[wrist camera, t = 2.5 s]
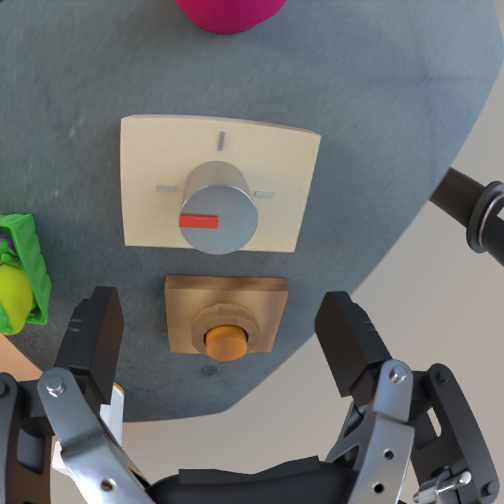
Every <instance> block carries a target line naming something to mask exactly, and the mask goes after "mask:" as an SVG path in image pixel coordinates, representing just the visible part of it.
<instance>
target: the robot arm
mask: <svg viewBox="0 0 504 504" xmlns="http://www.w3.org/2000/svg"><path fill="white" fill-rule="evenodd" d="M477 242H478V244H479V245H480V246H481V247H482V248H483V249H484V250H486V251H487V252H488V253H489V254H491V255H492V256H493V257H494V258H495V259H496V260H497V261H498V262H499V263H500V264H501V265H502V266H503V267H504V193H503V192H500V193H497V194H496V195H494V196H493V197H492V198H491V200H490V201H489V202H488V204H487V205H486V207H485V209H484V211H483V213H482V216H481V218H480V221H479V224H478V228H477ZM123 328H124V320H123V314H122V310H121V306H120V301H119V297H118V292H117V289H116V287H106V286H96V287H95V289H94V292H93V294H92V297H91V299H83V300H82V301H81V302H80V303H79V304H78V306H77V307H76V308H75V309H74V312H73V314H72V317H71V321H70V322H69V325H68V327H67V331H66V332H65V335H64V338H63V341H62V344H61V347H60V349H59V352H58V356H57V359H56V362H55V364H54V367H53V368H50V369H48V370H46V371H45V372H44V373H43V374H42V375H41V376H40V378H39V379H38V380H31V381H21V382H17V381H16V380H15V379H14V377H13V376H12V375H10V374H9V373H5V372H1V373H0V504H51V501H50V463H51V446H52V436H55V435H56V437H57V439H58V441H59V443H60V445H61V448H62V451H60V455H61V458H62V460H63V463H64V464H65V466H66V468H67V470H68V472H69V473H70V475H71V477H72V478H73V480H74V482H75V483H76V485H77V486H78V488H79V489H80V491H81V493H82V494H83V496H84V497H85V499H86V500H87V502H88V503H89V504H406V503H405V502H403V501H401V500H399V497H400V494H401V490H402V487H403V483H404V480H405V476H406V472H407V468H408V464H409V460H410V459H411V462H412V465H413V468H414V471H415V474H416V477H417V480H418V483H419V487H420V488H419V491H418V492H417V493H416V494H415V495H414V497H413V500H414V502H415V503H417V504H491V503H492V502H494V500H495V499H496V497H497V495H498V493H499V487H500V485H499V479H498V476H497V473H496V470H495V467H494V464H493V461H492V459H491V456H490V453H489V451H488V448H487V445H486V443H485V440H484V438H483V436H482V433H481V431H480V428H479V426H478V424H477V422H476V419H475V418H474V415H473V413H472V411H471V409H470V407H469V404H468V402H467V400H466V398H465V397H464V394H463V393H462V390H461V388H460V387H459V385H458V383H457V381H456V379H455V377H454V375H453V373H452V372H451V370H450V369H449V368H448V367H446V366H445V365H443V364H440V363H436V364H433V365H432V366H431V367H430V368H429V369H428V370H427V371H426V372H425V371H411V369H410V368H409V367H408V366H407V364H405V363H404V362H402V361H400V360H396V359H393V358H392V357H391V355H390V353H389V352H388V350H387V348H386V346H385V344H384V343H383V341H382V339H381V337H380V336H379V334H378V332H377V331H375V327H374V325H373V324H372V323H371V320H370V319H369V317H368V315H367V313H366V312H365V311H364V310H363V309H362V308H361V307H360V306H359V305H358V304H356V303H353V302H352V300H351V298H350V297H349V295H348V293H347V292H345V291H333V292H327V293H326V294H325V296H324V298H323V301H322V303H321V306H320V308H319V311H318V313H317V316H316V318H315V332H316V335H317V337H318V340H319V342H320V344H321V347H322V349H323V352H324V354H325V357H326V359H327V362H328V364H329V367H330V369H331V372H332V375H333V377H334V380H335V382H336V385H337V387H338V390H339V392H340V395H341V397H346V396H351V395H352V397H353V401H352V402H351V405H350V407H349V411H348V413H347V416H346V419H345V422H344V424H343V427H342V430H341V433H340V435H339V437H338V440H337V442H336V443H335V445H334V446H333V448H332V449H331V450H330V452H329V454H328V455H327V457H326V459H325V461H319V458H318V456H313V457H308V458H304V459H299V460H293V461H288V462H284V463H282V464H280V465H277V466H275V467H272V468H270V469H267V470H264V471H262V472H259V473H256V474H243V473H235V472H228V471H222V470H217V469H179V474H177V475H173V476H170V477H166V478H163V479H161V480H159V481H157V482H155V483H154V484H151V483H150V482H149V481H148V480H147V478H146V477H145V476H144V475H143V474H142V472H141V471H140V470H139V469H138V468H137V466H136V465H135V464H134V463H133V462H132V461H131V460H130V458H129V457H128V456H127V454H126V453H125V452H124V451H123V449H122V447H121V446H120V445H119V443H118V442H117V440H116V439H115V437H114V436H113V434H112V433H111V431H110V430H109V428H108V427H107V425H106V423H105V422H104V420H103V418H102V417H101V415H100V409H101V404H104V405H111V398H112V390H113V384H114V377H115V371H116V366H117V360H118V355H119V349H120V344H121V339H122V335H123ZM431 407H433V410H434V412H435V414H436V416H437V419H438V421H439V423H440V426H441V435H440V436H439V437H438V436H437V435H436V432H435V430H434V427H433V425H432V423H431V420H430V418H429V415H428V413H427V411H428V410H429V409H430V408H431Z"/></svg>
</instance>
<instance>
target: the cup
mask: <svg viewBox="0 0 504 504" xmlns="http://www.w3.org/2000/svg"><path fill="white" fill-rule="evenodd" d="M123 401H124V391H123V389H122V388H121V387H120V386H119V385H118V384H117V383H116V382H114V384H113V390H112V398H111V405H104V404H101V409H100V415H101V417H102V418H103V420H104V422H105V423H106V425H107V427H108V428H109V430H110V431H111V433H112V434H113V436H114V437H115V439H116V440H117V442H118V443H119V445H120V446H121V439H122V416H123ZM60 451H62V448H61V445H60V443H59V441H58V442H56V444H55V449H54V455H53V462H52V467H53V468H54V469H55V470H58V471H59V472H61V473H64V474H66V475H69V476H71V475H70V473H69V472H68V470H67V468H66V466H65V464H64V463H63V460H62V458H61V455H60Z"/></svg>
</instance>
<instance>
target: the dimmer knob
mask: <svg viewBox="0 0 504 504" xmlns="http://www.w3.org/2000/svg"><path fill="white" fill-rule="evenodd" d="M257 224H258V213H257V209H256V206H255V203H254V201H253V198H252V196H251V193H250V191H249V188H248V186H247V183H246V181H245V179H244V177H243V175H242V173H241V172H240V171H239V170H238V169H237V168H236V167H235V166H233V165H231V164H229V163H227V162H223V161H210V162H206V163H204V164H202V165H200V166H198V167H197V168H195V169H194V170H193V171H192V172H191V174H190V175H189V177H188V179H187V181H186V184H185V189H184V194H183V198H182V203H181V208H180V213H179V227H180V230H181V233H182V235H183V237H184V238H185V240H186V241H187V242H188V243H189V244H190V245H191V246H192V247H193V248H195V249H197V250H198V251H201V252H203V253H206V254H211V255H223V254H228V253H231V252H234V251H236V250H238V249H240V248H242V247H243V246H244V245H245V244H247V243H248V242H249V240H250V239H251V238H252V236H253V235H254V233H255V231H256V228H257Z"/></svg>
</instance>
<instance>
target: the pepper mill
mask: <svg viewBox="0 0 504 504" xmlns="http://www.w3.org/2000/svg"><path fill="white" fill-rule="evenodd" d="M175 1H176V3H177V5H178V6H179V7H180V8H181V10H182V11H183V12H184V13H186V14H187V15H188V16H189V17H190V19H191V20H192V21H193V22H194V23H195V24H196V25H198V26H199V27H201V28H203V29H205V30H207V31H210V32H214V33H221V34H231V33H238V32H242V31H244V30H247V29H249V28H251V27H253V26H254V25H256V24H257V23H260V22H262V21H264V20H266V19H268V18H269V17H271V16H273V15H274V14H275V13H276V12H278V11H279V10H280V8H281V7H282V6H283V5H284V3H285V2H286V0H175Z"/></svg>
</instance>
